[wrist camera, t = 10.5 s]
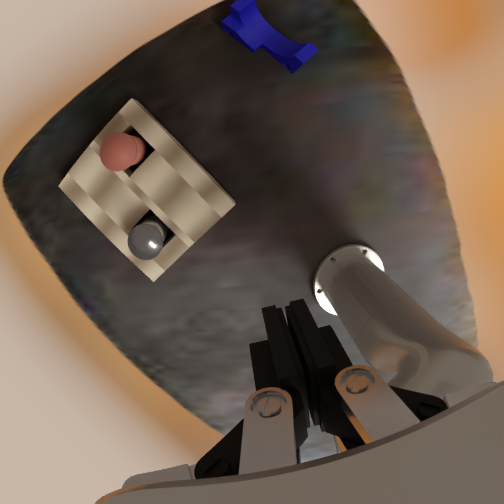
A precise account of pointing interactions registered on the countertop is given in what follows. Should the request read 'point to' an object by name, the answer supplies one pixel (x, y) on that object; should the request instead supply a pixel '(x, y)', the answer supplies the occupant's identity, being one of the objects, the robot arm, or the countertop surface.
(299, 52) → the cable clip
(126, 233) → the board
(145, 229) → the grey plug
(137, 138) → the red plug
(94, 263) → the countertop surface
